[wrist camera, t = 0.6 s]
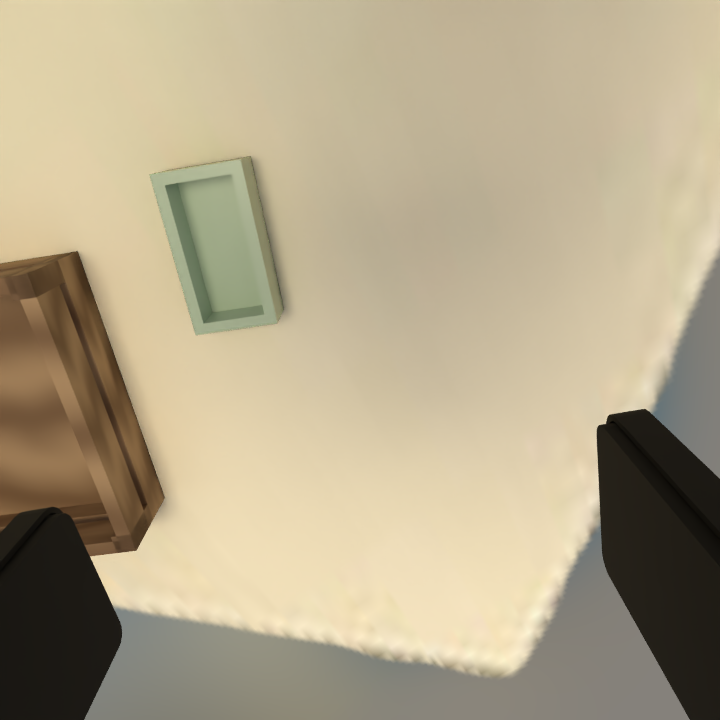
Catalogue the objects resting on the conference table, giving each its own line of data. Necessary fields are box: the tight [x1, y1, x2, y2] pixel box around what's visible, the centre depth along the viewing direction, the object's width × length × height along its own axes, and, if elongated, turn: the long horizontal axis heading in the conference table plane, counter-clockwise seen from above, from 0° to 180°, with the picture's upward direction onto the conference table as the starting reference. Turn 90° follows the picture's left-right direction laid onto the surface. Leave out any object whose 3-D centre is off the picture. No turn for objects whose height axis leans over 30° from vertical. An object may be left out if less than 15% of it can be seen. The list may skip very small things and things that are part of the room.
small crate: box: [150, 157, 284, 335], centre depth 35 cm, size 10×5×3 cm, turn 9°
